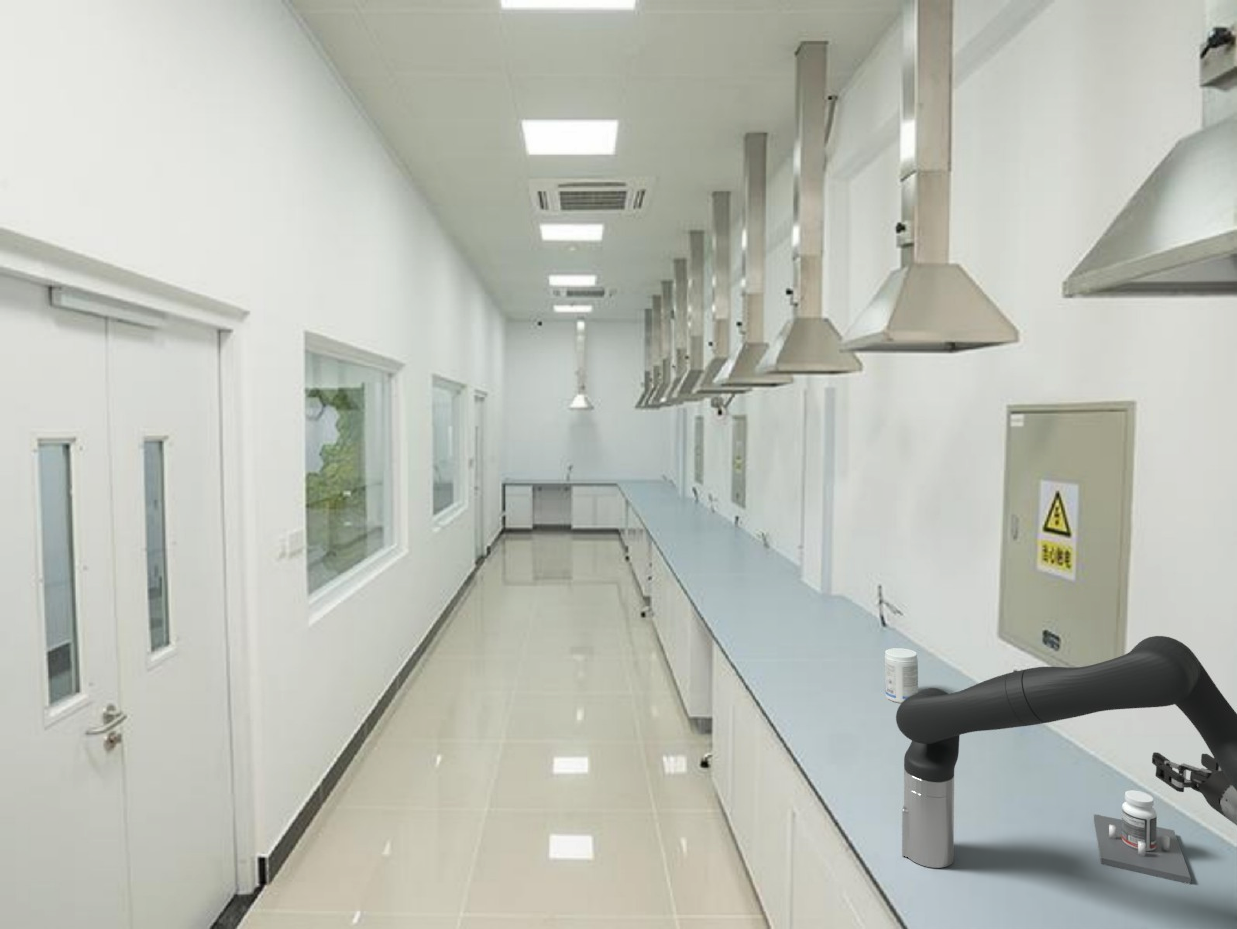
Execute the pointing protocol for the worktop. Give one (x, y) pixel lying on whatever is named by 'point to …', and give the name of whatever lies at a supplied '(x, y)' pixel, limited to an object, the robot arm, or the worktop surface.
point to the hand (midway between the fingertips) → (1178, 757)
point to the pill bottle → (1139, 820)
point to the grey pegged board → (1140, 851)
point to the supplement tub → (900, 674)
